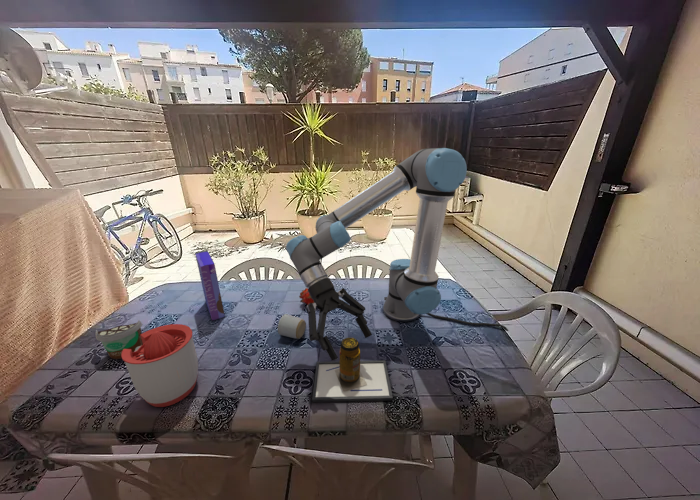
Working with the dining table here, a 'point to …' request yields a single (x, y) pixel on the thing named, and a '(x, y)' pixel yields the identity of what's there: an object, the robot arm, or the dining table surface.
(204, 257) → the cereal box
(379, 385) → the whiteboard
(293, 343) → the dining table surface
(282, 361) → the dining table surface
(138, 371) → the citrus juicer
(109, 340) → the food container
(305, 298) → the dragon fruit
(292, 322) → the ceramic mug
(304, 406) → the dining table surface
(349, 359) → the condiment
